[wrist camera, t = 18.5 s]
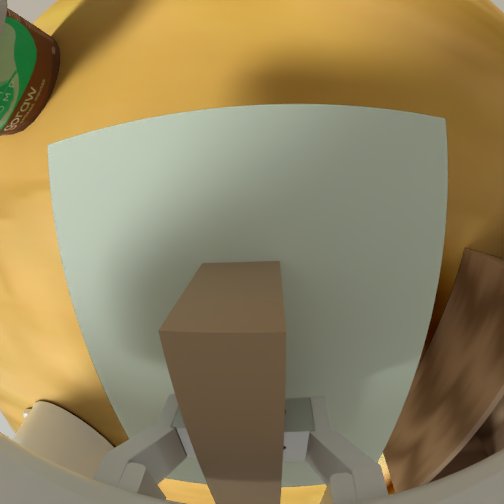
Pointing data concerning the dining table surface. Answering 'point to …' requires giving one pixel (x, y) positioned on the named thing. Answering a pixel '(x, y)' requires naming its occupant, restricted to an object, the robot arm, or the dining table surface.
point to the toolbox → (456, 383)
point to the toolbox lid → (254, 274)
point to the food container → (24, 70)
